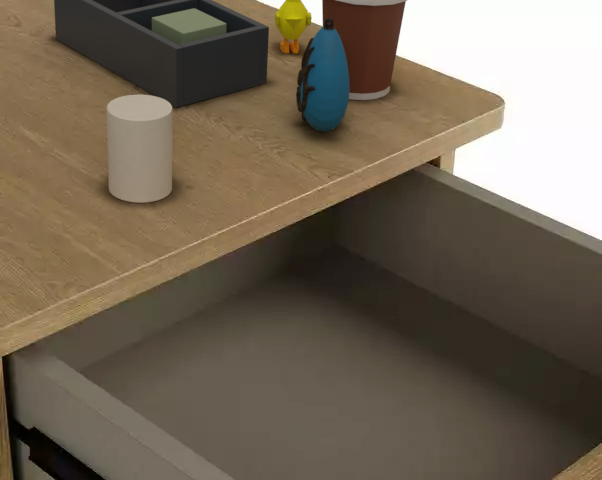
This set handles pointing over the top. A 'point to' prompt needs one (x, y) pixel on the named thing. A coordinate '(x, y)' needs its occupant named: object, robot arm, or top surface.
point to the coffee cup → (367, 42)
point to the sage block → (187, 26)
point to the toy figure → (292, 23)
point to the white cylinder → (139, 148)
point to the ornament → (323, 80)
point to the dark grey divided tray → (166, 47)
